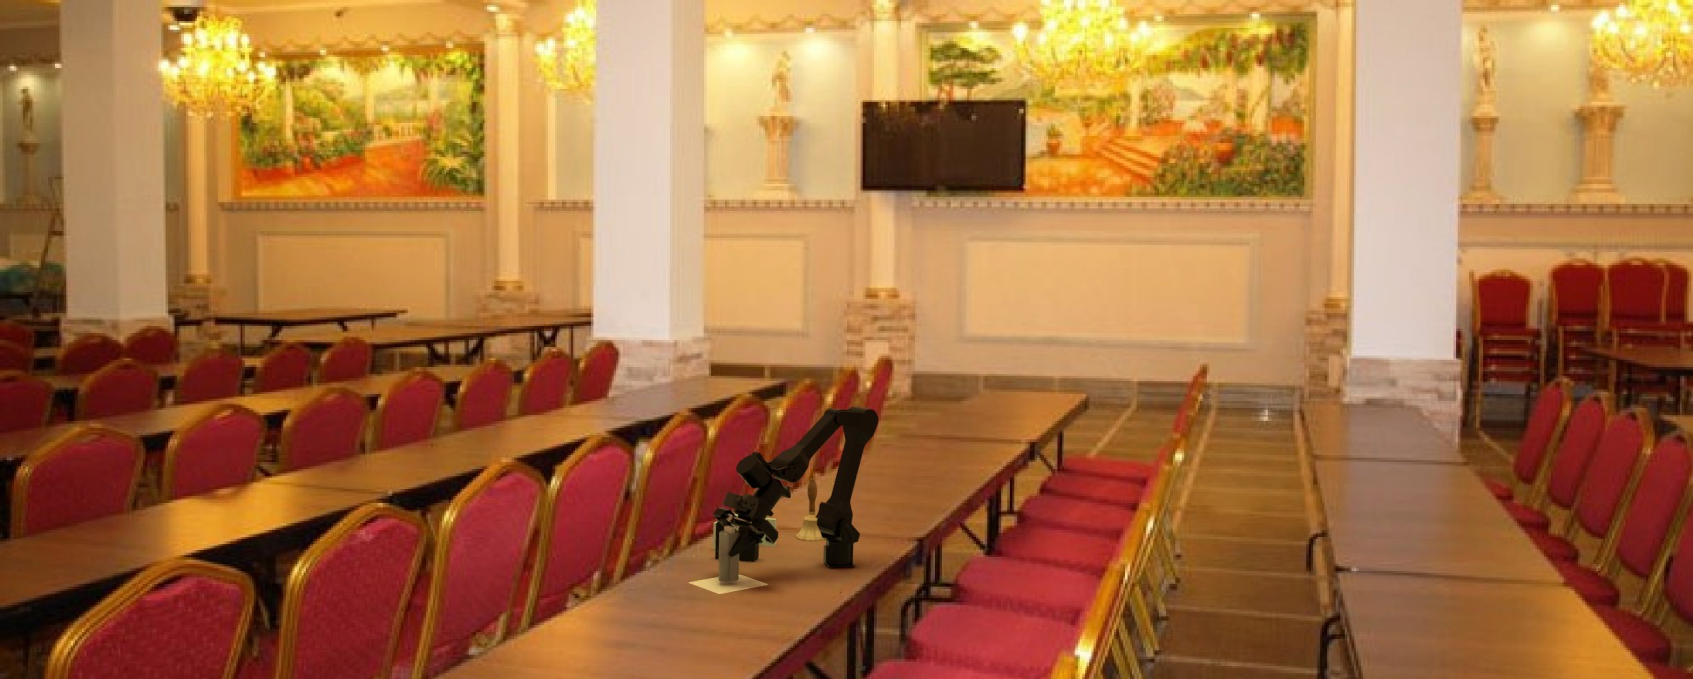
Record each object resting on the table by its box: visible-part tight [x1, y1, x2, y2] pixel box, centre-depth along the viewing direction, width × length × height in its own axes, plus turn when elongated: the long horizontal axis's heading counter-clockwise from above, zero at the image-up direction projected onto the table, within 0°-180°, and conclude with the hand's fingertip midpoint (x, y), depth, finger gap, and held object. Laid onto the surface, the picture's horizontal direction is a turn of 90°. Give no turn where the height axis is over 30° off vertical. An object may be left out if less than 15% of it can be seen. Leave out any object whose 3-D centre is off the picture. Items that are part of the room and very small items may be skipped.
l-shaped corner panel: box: [712, 513, 777, 551], centre depth 345 cm, size 12×12×8 cm
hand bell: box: [795, 477, 826, 542], centre depth 359 cm, size 8×8×16 cm
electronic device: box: [714, 520, 760, 563], centre depth 332 cm, size 4×10×10 cm, turn 78°
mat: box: [688, 573, 770, 595], centre depth 308 cm, size 14×12×1 cm
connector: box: [717, 526, 740, 582], centre depth 308 cm, size 5×4×12 cm
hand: (724, 554), depth 307 cm, fingers closed on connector, 4 cm apart
